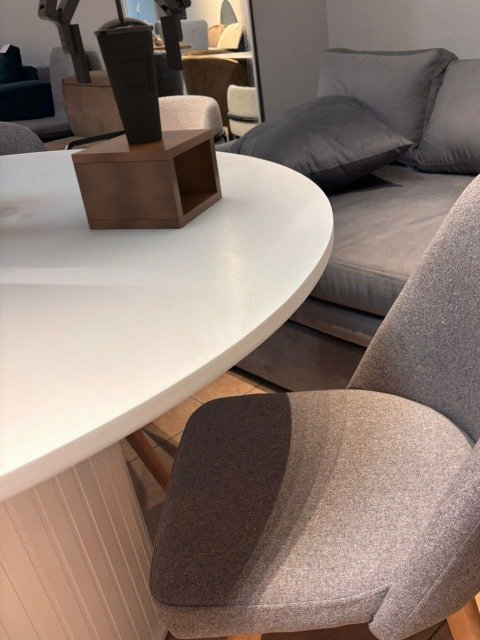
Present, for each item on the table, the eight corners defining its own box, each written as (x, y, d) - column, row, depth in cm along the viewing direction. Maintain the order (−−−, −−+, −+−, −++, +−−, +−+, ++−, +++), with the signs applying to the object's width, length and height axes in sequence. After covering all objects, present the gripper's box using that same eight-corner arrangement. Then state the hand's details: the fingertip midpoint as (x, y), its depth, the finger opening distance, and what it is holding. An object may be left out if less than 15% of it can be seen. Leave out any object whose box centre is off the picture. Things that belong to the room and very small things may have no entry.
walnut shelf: (89, 228, 90) (70, 154, 85) (141, 199, 103) (127, 132, 98) (180, 228, 86) (166, 150, 81) (222, 197, 99) (212, 128, 94)
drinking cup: (168, 133, 93) (139, -31, 83) (176, 140, 87) (145, -37, 77) (115, 140, 92) (79, -26, 81) (119, 148, 85) (80, -32, 75)
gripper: (-6, -140, 65) (53, 90, 76) (199, -130, 78) (224, 65, 89) (-28, -124, 70) (30, 88, 81) (168, -117, 83) (196, 65, 94)
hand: (132, 77), depth 85 cm, fingers open, 13 cm apart
